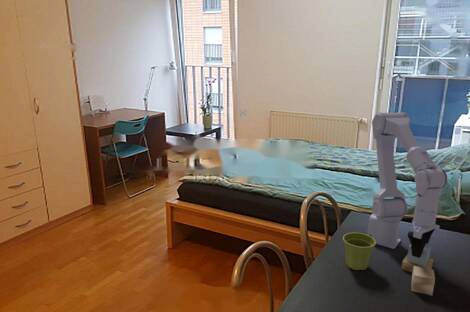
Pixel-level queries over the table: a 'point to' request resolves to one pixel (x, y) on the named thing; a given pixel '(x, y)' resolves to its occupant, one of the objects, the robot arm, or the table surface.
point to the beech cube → (423, 280)
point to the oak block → (409, 266)
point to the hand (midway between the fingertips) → (419, 251)
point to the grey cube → (424, 257)
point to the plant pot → (358, 250)
